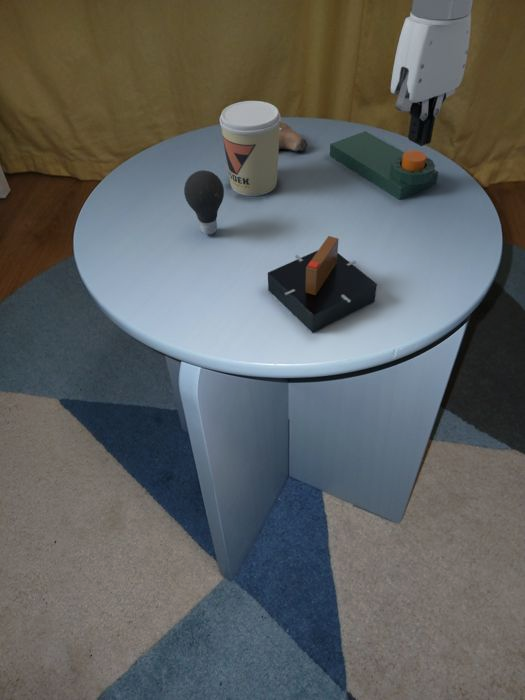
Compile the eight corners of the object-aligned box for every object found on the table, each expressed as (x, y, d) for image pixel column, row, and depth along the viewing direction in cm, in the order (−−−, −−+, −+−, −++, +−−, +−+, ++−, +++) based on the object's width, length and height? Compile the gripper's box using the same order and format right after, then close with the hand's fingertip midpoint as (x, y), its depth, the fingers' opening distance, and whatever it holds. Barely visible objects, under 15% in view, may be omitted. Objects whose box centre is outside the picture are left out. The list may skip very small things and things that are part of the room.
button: (429, 167, 87) (431, 156, 86) (412, 174, 86) (414, 163, 85) (413, 158, 89) (415, 147, 88) (396, 165, 88) (398, 154, 87)
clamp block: (381, 302, 72) (384, 283, 69) (311, 338, 68) (312, 319, 65) (328, 259, 78) (329, 240, 76) (261, 289, 74) (260, 270, 72)
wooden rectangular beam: (326, 260, 73) (328, 234, 70) (336, 263, 73) (338, 236, 70) (305, 292, 69) (305, 265, 66) (315, 295, 68) (316, 268, 65)
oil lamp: (268, 165, 98) (309, 157, 100) (268, 145, 95) (311, 137, 97) (251, 138, 103) (291, 130, 105) (251, 118, 100) (292, 110, 102)
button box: (441, 187, 90) (446, 164, 87) (404, 203, 87) (408, 180, 84) (364, 142, 101) (366, 121, 98) (329, 155, 98) (330, 133, 95)
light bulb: (185, 241, 82) (174, 180, 75) (199, 220, 86) (190, 160, 79) (220, 247, 81) (213, 185, 74) (233, 225, 85) (227, 165, 77)
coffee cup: (214, 183, 93) (207, 112, 85) (258, 164, 97) (255, 94, 88) (248, 205, 88) (244, 132, 80) (293, 184, 92) (293, 113, 83)
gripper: (460, -13, 76) (436, 120, 89) (377, 9, 71) (365, 146, 84) (504, -2, 72) (472, 136, 85) (419, 22, 66) (399, 165, 79)
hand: (419, 141), depth 84 cm, fingers closed
